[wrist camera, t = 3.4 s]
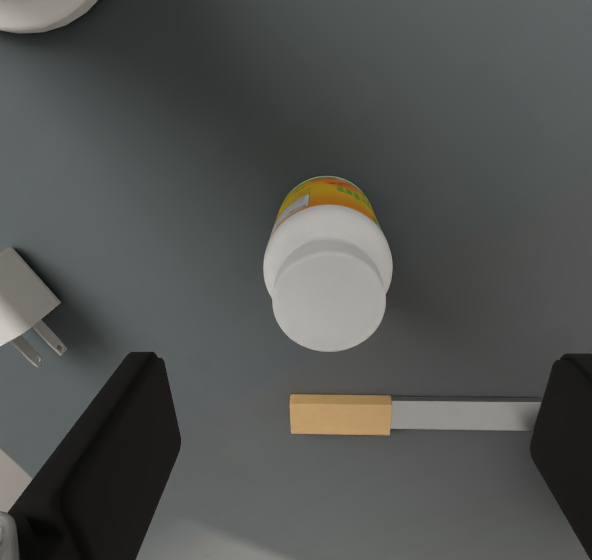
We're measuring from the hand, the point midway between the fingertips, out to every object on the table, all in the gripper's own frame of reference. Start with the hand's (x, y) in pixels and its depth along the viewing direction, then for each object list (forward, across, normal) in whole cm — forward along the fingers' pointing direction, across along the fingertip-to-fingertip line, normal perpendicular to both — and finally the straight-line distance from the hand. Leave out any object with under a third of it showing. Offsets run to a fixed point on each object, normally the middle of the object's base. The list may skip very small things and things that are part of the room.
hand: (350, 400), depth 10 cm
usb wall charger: (+14, +20, +5) cm, 25 cm away
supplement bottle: (+14, +1, 0) cm, 14 cm away
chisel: (+14, -5, +14) cm, 21 cm away
